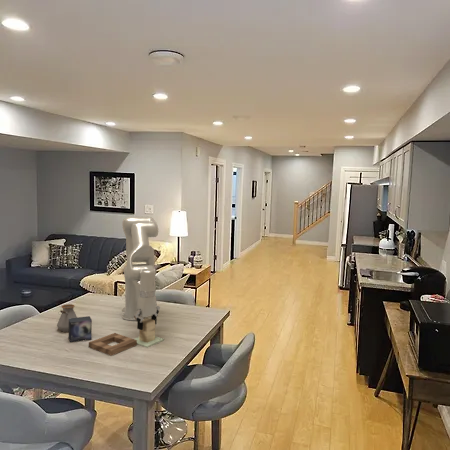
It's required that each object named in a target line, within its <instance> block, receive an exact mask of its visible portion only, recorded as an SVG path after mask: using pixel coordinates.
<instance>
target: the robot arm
mask: <svg viewBox="0 0 450 450" xmlns="http://www.w3.org/2000/svg"><path fill="white" fill-rule="evenodd" d="M122 229H123V232H124V236H125V240H126V243H125V245H126V247H125V249H126V251H125V252H126V253H125V254H126V265H125V267H124V269H123V275H124V277H123V278H124V283H125V287H124V289H125V294H124V295H125V301H124V303H125V304H124V305H125V307H123V309H121V312H122V313H123V315H122V319H123V320H124V321H136V322H137V327H136V328H137V330H143V322H142V321H143V319H146V318H149V317H150V319H153V320H155V326H156V325H157V323H158V322H157V320H158V318H157V317H159V316H158V315H159V312H160V309H161V306H160V305H157V297H156V290H157V289H156V275H157V274H156V273H157V272H156V271H157V270H156V268H155V250H154V248H153V246H152V245H150V242H149V238H156V237H157V236H158V234H159V227H158V224H157V222H156V220H155V219H154V218H153V217H152V216H127V217H125V218H124V219H123V220H122ZM133 263H135V264H133ZM137 263H138V264H137Z"/></svg>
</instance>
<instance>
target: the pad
mask: <svg viewBox="0 0 450 450" xmlns="http://www.w3.org/2000/svg"><path fill="white" fill-rule="evenodd" d="M134 339H135V340H137V345H138V346H142V347H145V348H149V347H151V346H154V345H156V344H159V343H161V342H163V341H165V338H162V337H159V336H156V335H155V340H152V341H150V342H144V341H141V340H139V336H138V337H135V338H134Z"/></svg>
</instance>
